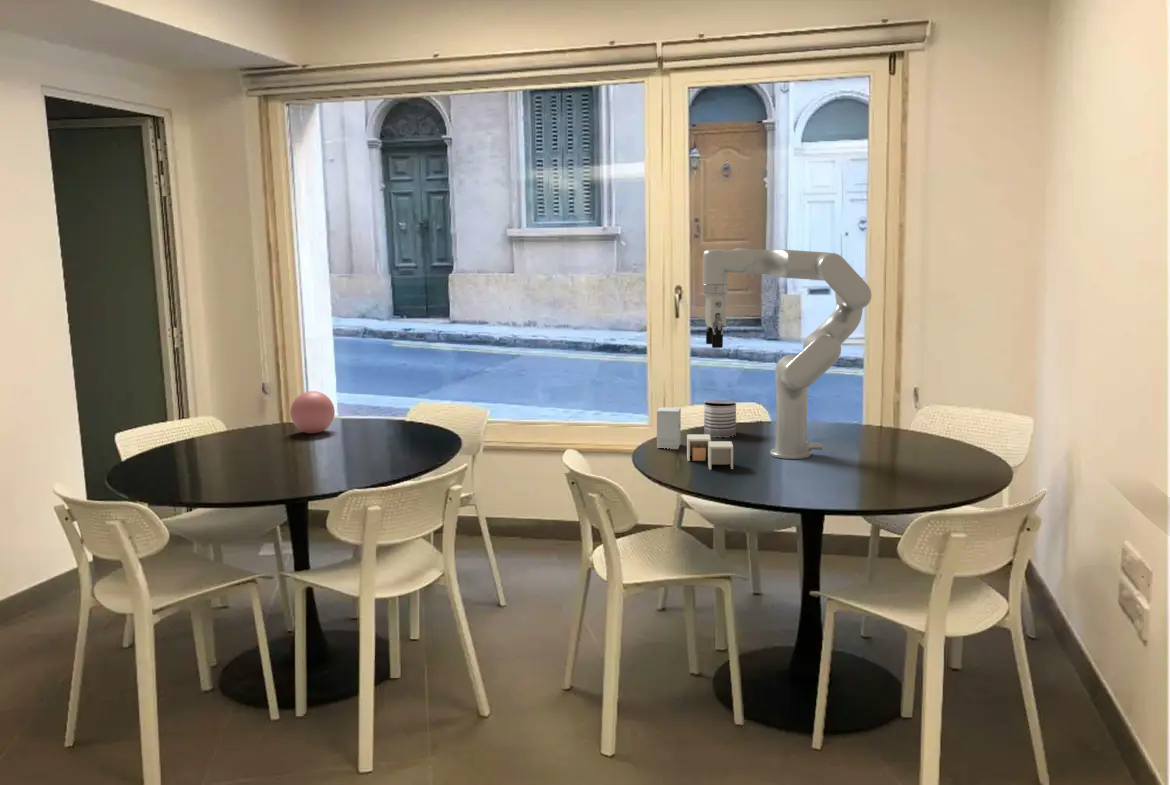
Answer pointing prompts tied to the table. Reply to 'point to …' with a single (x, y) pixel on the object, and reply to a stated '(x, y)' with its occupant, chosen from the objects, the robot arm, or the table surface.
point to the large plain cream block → (697, 442)
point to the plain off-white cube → (720, 453)
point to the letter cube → (698, 452)
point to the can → (720, 418)
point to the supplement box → (669, 428)
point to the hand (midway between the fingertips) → (714, 345)
